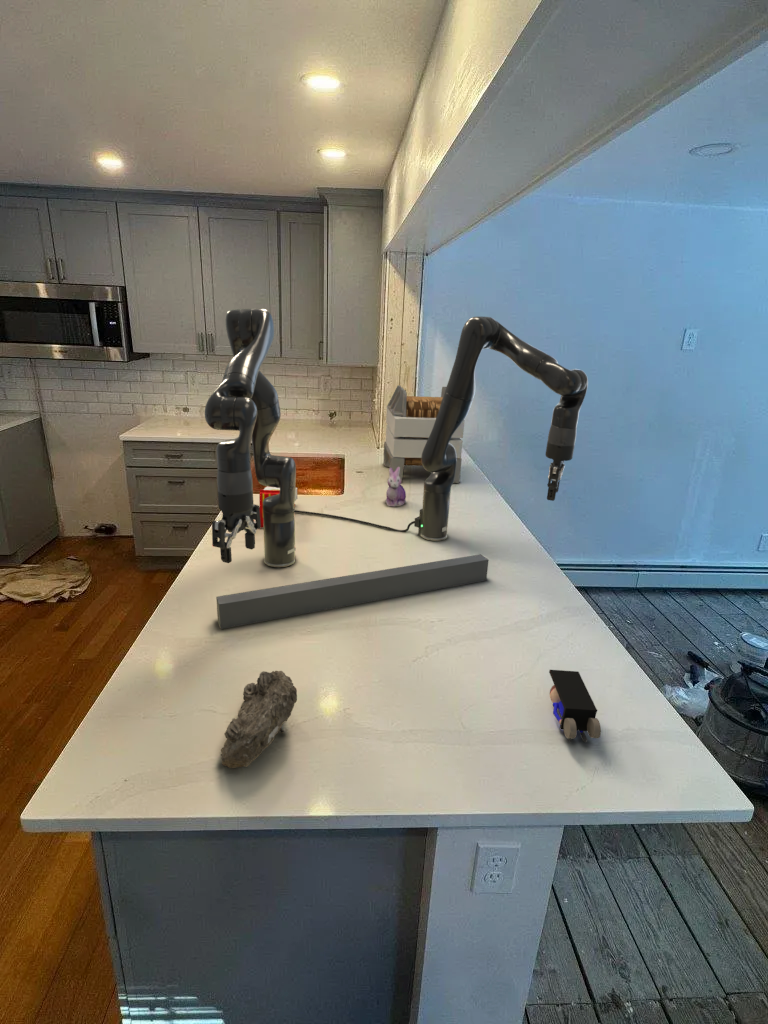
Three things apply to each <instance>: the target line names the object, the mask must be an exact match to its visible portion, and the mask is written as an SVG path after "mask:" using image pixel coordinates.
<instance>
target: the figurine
mask: <svg viewBox="0 0 768 1024" xmlns="http://www.w3.org/2000/svg"><path fill="white" fill-rule="evenodd" d="M388 472H389V475H390V476H389V475H388V476H389V477H388V479H387V486H388V487H387V489H386V494H385V496H386V499H385V504H386V506H388V507H400V506H403V505H405V502H406V498H407V493H406V490H405V488H404V487H403V485H401V484H402V482H401V480H400V477H399V472H400V467H398V468H397V469H396V470H395V472H394V471H393V469H392V468H391V467H388Z"/></svg>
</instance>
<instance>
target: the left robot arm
mask: <svg viewBox="0 0 768 1024" xmlns="http://www.w3.org/2000/svg"><path fill="white" fill-rule="evenodd" d="M225 331H226V334H227V340H228V343H229V346H230V347H229V348H230V350H231V353H232V356H233V357H232V358H231V359H230V360H229V362H228V363H227V365H226V368H225V371H224V373H223V376H222V380H221V383H220V384H219V385H218V386H217V388H216V389H215V390H214V391H213V392H212V394H211V395H210V396H209V398H208V400H207V401H206V403H205V407H204V419H205V422H206V423H207V425H208V426H209V427H210V428H211V429H212V430H216V431H238V432H239V434H238V436H237V437H236V438H231V439H226V440H221V441H220V442H218V443H217V445H216V448H215V449H216V464H217V465H216V466H217V467H216V468H217V473H216V474H217V475H216V486H217V500H218V509H219V510H220V511H221V513H222V515H221V516H222V517H221V519H220V520H215V519H214V520H212V522H211V536H212V537H211V539H212V540H211V541H212V544H211V545H212V547H213V548H214V547H215V548H219V549H220V560H221V562H222V563H224V564H225V563H226V564H230V563H232V561H233V559H232V547H231V545H232V543H233V540H235V539H236V537H237V534H239V533H240V532H241V531H244V532H245V533H244V544H245V548H246V549H248V550H254V549H255V548H256V534H257V530H260V529H261V528H260V527H261V521H260V508H259V507H260V505H258V504H254V483H253V481H254V480H253V474H252V463H251V462H252V461H251V447H252V455H253V465H254V473H255V477H256V480H257V482H258V484H260V485H261V486H263V487H267V486H268V487H276V488H280V493H279V494H277V495H273V496H269V497H267V498H265V499H264V501H263V525H264V528H263V554H264V555H263V563H264V564H265V565H266V566H268V567H272V568H286V567H290V566H292V565H294V564H295V563H296V541H295V540H296V533H295V527H296V526H295V521H296V520H295V512H294V510H295V506H294V504H295V502H296V501H295V488H296V483H297V482H296V481H297V465H296V462H295V459H294V458H293V457H291V456H285V455H275V454H272V453H271V452H270V440H271V438H272V436H273V434H274V433H275V431H276V429H277V427H278V425H279V423H280V420H281V413H282V412H281V407H280V400H279V393H278V392H277V389H276V388H275V386H274V385H273V384H272V383H271V381H270V380H269V379H268V378H267V377H266V376H265V374H263V372H261V371H260V370H261V368H262V365H263V363H264V362H265V361H266V359H267V356H268V354H269V352H270V349H271V348H272V345H273V342H274V339H275V338H274V337H275V323H274V318H273V316H272V313H271V312H270V311H269V309H266V308H258V307H257V308H254V307H253V308H235V309H230V310H228V311H227V312H226V315H225ZM228 532H229V533H228ZM226 538H227V539H226Z"/></svg>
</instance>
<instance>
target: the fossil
mask: <svg viewBox="0 0 768 1024" xmlns="http://www.w3.org/2000/svg"><path fill="white" fill-rule="evenodd" d="M256 679H257V680H256V683H254V682H251V683H248V684H246V685H245V686H244V687H243V693H242V694H243V695H242V699H243V701H242V703H241V705H240V707H239V710H238V713H237V717H238V718H232V719H231V721H230V722H229V724H228V726H227V727H226V730H225V732H224V736H225V739H226V740H225V742H224V744H223V746H222V747H221V749H220V752H221V753H220V758H221V759H220V760H221V765H222V766H226V767H228V768H229V769H236V768H242V767H244V768H247V767H249V766H250V765H251V764H252V763H253V762H255V760H256V759H257V758H258V757H259V756H261V754H262V753H263V751H265V750H266V749H267V748H268V747H269V746H270V745H271V744H272V743H273V741H274V740H275V738H276V735H277V734H278V733H279V732H280V733H281V734H283V733H284V732H285V731H284V729H282V727H283V724H284V723H285V722H287V721H288V720H289V718H290V717H291V716H292V712H293V709H294V707H295V704H296V703H297V701H298V694H297V692H298V690H297V688H296V686H295V685H294V683H293V680H292V678H291V677H290V676H288V675H286V673H285V672H284V671H283V670H272V671H271V672H268V671H260V673H259V675H258V677H257V678H256Z"/></svg>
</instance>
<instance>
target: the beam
mask: <svg viewBox="0 0 768 1024" xmlns="http://www.w3.org/2000/svg"><path fill="white" fill-rule="evenodd" d="M489 561H490V559H488V558H487V557H486V556H484V555H483V554H480V553H479V554H475V555H473V554H472V555H466V556H461V557H455V558H449V559H442V560H436V561H430V562H424V563H418V564H417V563H416V564H410V565H405V566H398V567H393V568H387V569H378V570H373V571H367V572H362V573H356V574H355V573H353V574H349V575H343V576H337V577H329V578H324V579H318V580H312V581H306V582H305V581H304V582H298V583H293V584H287V585H280V586H273V587H267V588H262V589H256V590H249V591H242V592H237V593H231V594H225V595H224V594H223V595H218V596H215V597H216V598H215V599H216V614H217V623H218V626H219V628H220V630H224V629H229V628H234V627H241V626H245V625H250V624H256V623H257V624H258V623H262V622H267V621H274V620H279V619H285V618H289V617H294V616H300V615H305V614H310V613H311V614H312V613H316V612H317V613H318V612H321V611H328V610H331V609H333V610H334V609H338V608H343V607H349V606H356V605H360V604H365V603H366V604H367V603H371V602H376V601H382V600H388V599H393V598H397V597H404V596H409V595H414V594H421V593H425V592H431V591H436V590H437V591H438V590H441V589H447V588H453V587H459V586H463V585H464V586H465V585H469V584H474V583H480V582H485V581H487V577H488V570H489Z"/></svg>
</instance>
